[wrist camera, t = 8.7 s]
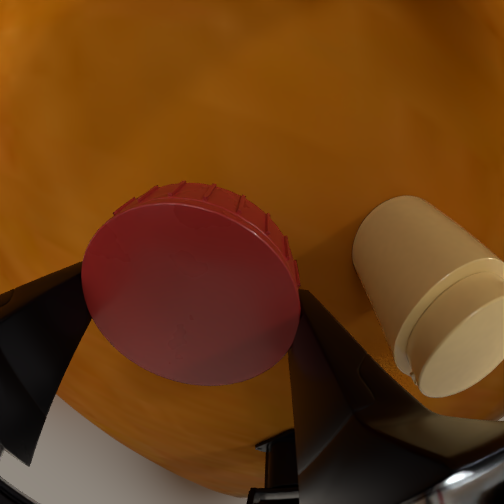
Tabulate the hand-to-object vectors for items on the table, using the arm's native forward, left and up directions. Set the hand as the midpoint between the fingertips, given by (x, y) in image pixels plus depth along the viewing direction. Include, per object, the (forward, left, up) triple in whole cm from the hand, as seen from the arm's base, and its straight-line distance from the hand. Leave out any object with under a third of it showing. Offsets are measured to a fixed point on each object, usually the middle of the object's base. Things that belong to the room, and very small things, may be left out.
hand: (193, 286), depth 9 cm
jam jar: (+5, -9, -6) cm, 12 cm away
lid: (0, 0, +1) cm, 1 cm away
